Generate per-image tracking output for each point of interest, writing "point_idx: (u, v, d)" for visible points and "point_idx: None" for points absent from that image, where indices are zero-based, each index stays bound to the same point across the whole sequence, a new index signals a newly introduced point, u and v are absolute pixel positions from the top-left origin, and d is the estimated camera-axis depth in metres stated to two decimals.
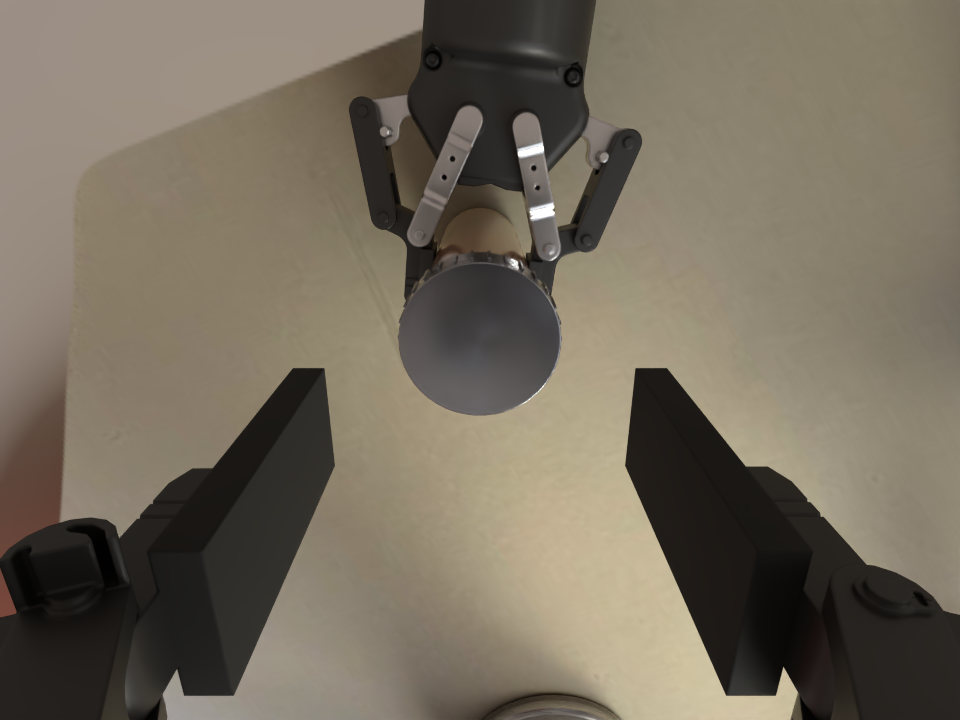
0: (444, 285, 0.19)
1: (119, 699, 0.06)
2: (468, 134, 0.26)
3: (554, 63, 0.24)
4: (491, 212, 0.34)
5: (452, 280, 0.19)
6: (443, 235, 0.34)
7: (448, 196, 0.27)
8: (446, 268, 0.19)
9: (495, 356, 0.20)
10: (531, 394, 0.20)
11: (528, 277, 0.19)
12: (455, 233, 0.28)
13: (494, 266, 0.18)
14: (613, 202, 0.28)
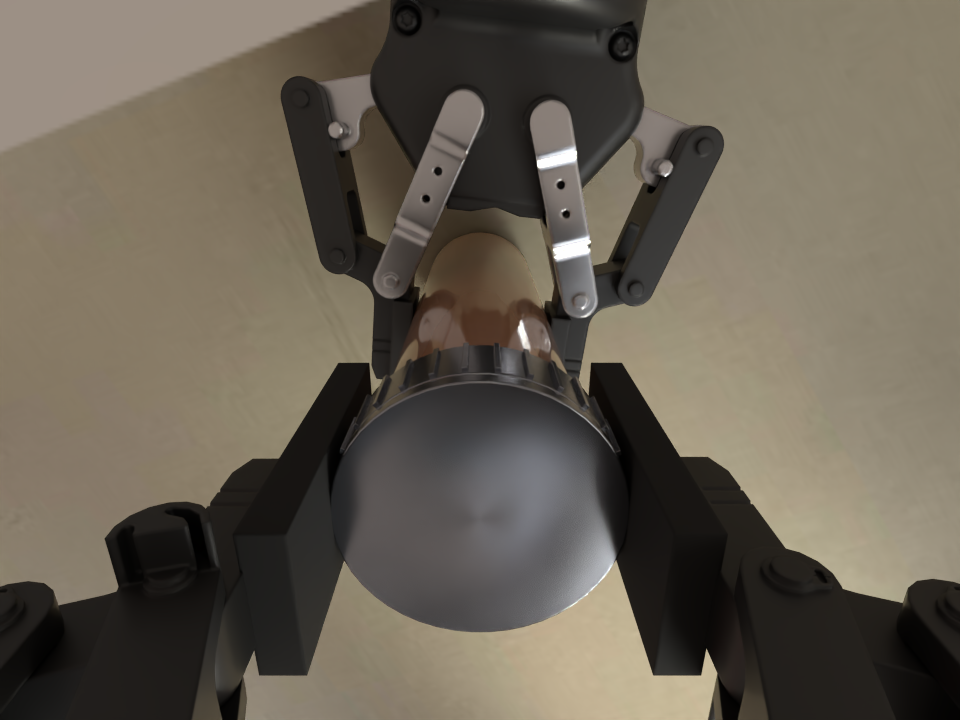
0: (412, 422, 0.10)
1: (210, 679, 0.07)
2: (462, 134, 0.17)
3: (598, 21, 0.15)
4: (495, 240, 0.25)
5: (427, 413, 0.10)
6: (430, 271, 0.25)
7: (432, 227, 0.18)
8: (415, 390, 0.10)
9: (508, 541, 0.11)
10: (572, 600, 0.11)
11: (572, 407, 0.10)
12: (443, 279, 0.19)
13: (508, 389, 0.10)
14: (677, 234, 0.19)
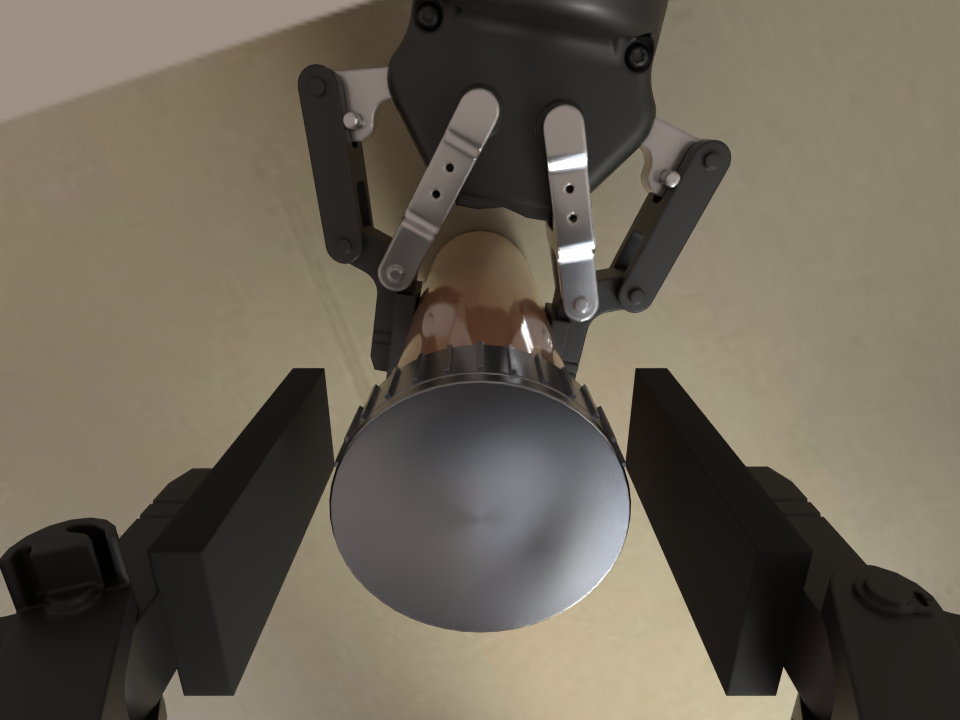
0: (363, 551, 0.11)
1: (118, 699, 0.06)
2: (476, 132, 0.17)
3: (617, 31, 0.15)
4: (498, 239, 0.25)
5: (356, 539, 0.11)
6: (432, 267, 0.25)
7: (440, 222, 0.18)
8: (337, 539, 0.11)
9: (512, 499, 0.10)
10: (609, 452, 0.10)
11: (371, 419, 0.10)
12: (448, 275, 0.19)
13: (339, 473, 0.10)
14: (680, 245, 0.19)
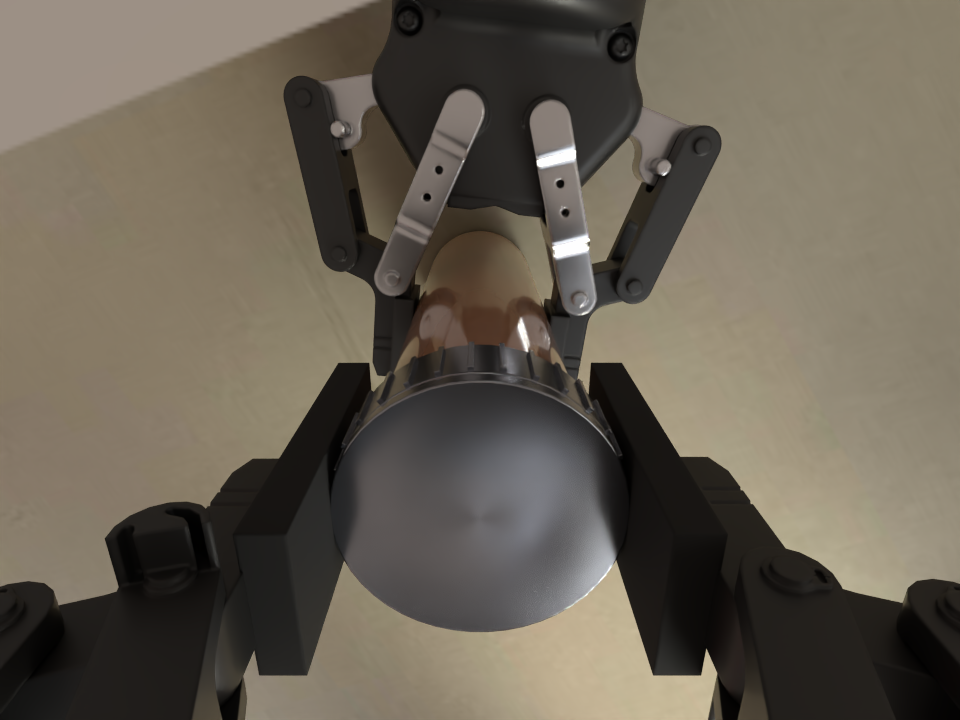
0: (366, 557, 0.11)
1: (209, 680, 0.07)
2: (462, 133, 0.17)
3: (597, 22, 0.15)
4: (495, 238, 0.25)
5: (358, 545, 0.11)
6: (430, 270, 0.25)
7: (433, 225, 0.18)
8: (340, 546, 0.11)
9: (510, 498, 0.10)
10: (604, 445, 0.10)
11: (365, 424, 0.10)
12: (444, 277, 0.19)
13: (337, 480, 0.10)
14: (675, 233, 0.19)
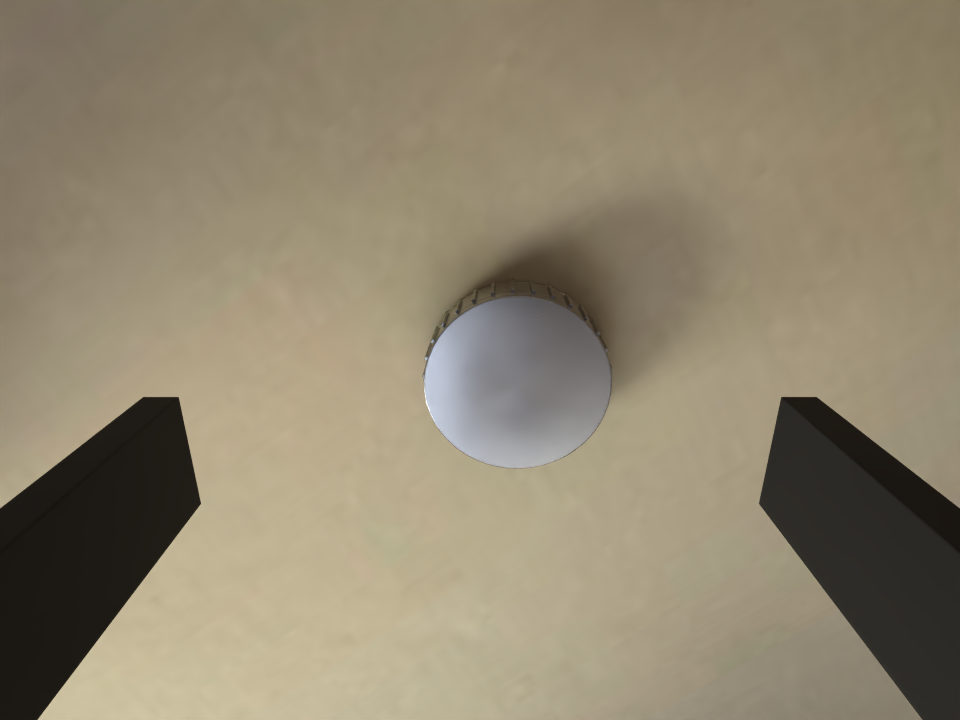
0: (445, 413, 0.17)
1: None
2: None
3: None
4: None
5: (440, 404, 0.17)
6: None
7: None
8: (428, 406, 0.17)
9: (536, 373, 0.17)
10: (594, 338, 0.16)
11: (448, 324, 0.16)
12: None
13: (430, 360, 0.17)
14: None
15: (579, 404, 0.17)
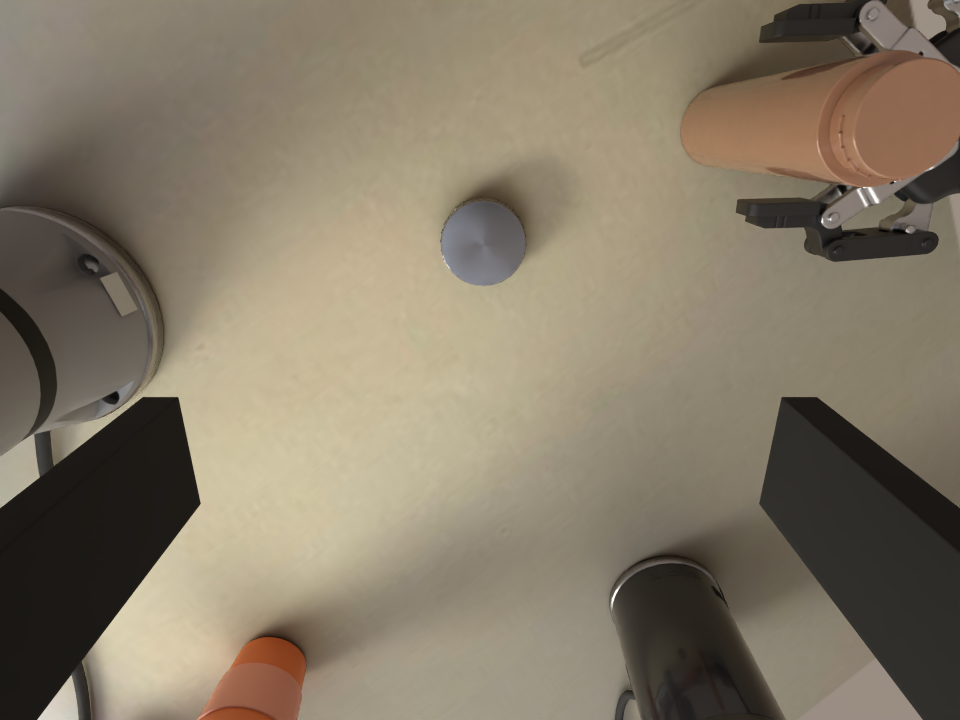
0: (450, 258, 0.38)
1: None
2: None
3: None
4: None
5: (448, 253, 0.38)
6: None
7: None
8: (443, 255, 0.38)
9: (491, 237, 0.37)
10: (516, 220, 0.37)
11: (452, 215, 0.37)
12: None
13: (444, 231, 0.37)
14: (875, 255, 0.32)
15: (511, 252, 0.38)
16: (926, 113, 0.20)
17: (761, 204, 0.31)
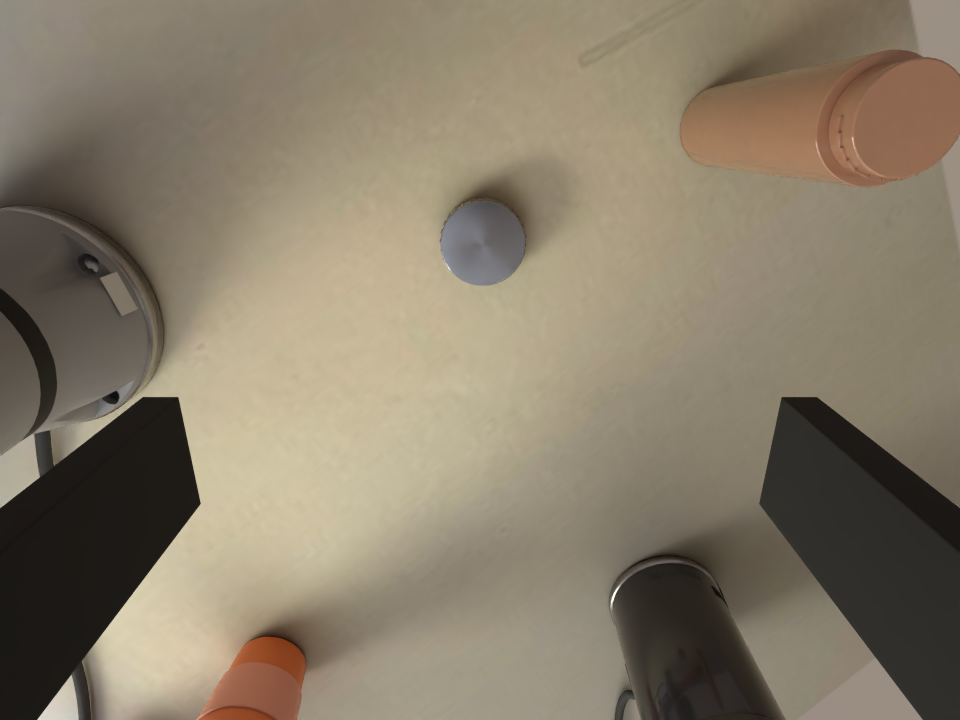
0: (450, 257, 0.38)
1: None
2: None
3: None
4: None
5: (448, 253, 0.38)
6: None
7: None
8: None
9: (491, 237, 0.37)
10: (516, 220, 0.37)
11: (451, 214, 0.37)
12: None
13: (443, 231, 0.37)
14: None
15: (511, 252, 0.38)
16: (925, 113, 0.20)
17: None
